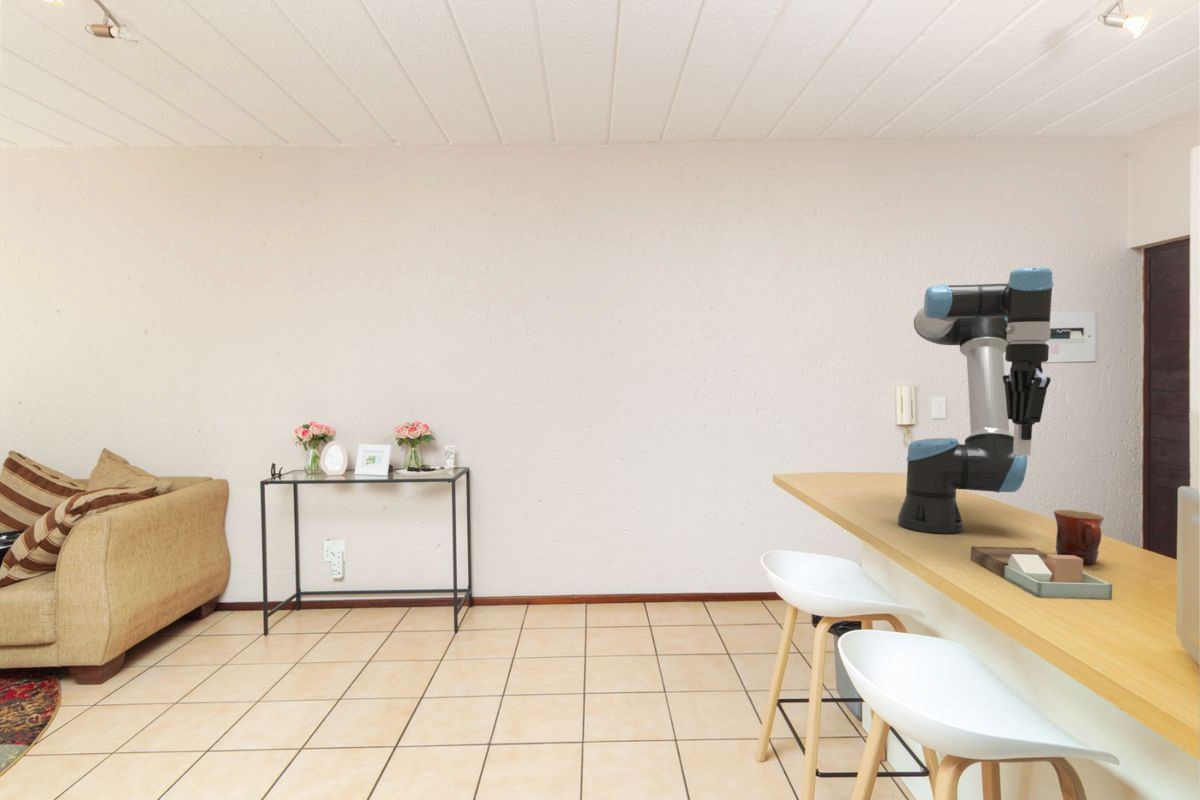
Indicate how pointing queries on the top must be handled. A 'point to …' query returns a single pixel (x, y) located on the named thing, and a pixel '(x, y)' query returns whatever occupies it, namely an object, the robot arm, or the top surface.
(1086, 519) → the mug
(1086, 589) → the tray
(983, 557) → the board
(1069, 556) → the tile terracotta
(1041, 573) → the tile white
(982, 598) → the top surface
